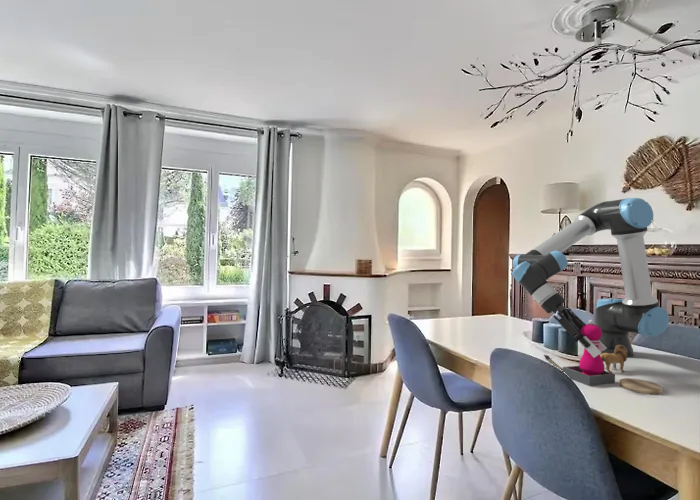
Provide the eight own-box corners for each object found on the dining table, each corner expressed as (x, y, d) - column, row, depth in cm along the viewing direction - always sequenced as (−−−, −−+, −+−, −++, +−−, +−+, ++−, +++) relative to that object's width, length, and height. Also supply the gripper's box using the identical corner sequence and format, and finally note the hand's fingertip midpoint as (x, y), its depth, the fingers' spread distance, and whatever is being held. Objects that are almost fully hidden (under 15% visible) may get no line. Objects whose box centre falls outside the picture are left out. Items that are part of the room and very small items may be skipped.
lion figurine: (615, 366, 147) (616, 342, 147) (631, 370, 142) (631, 346, 142) (591, 371, 140) (592, 346, 140) (606, 375, 135) (607, 349, 135)
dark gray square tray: (586, 373, 138) (586, 364, 138) (614, 383, 128) (615, 374, 128) (562, 375, 135) (562, 366, 135) (589, 386, 124) (589, 376, 124)
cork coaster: (636, 380, 131) (636, 377, 131) (671, 392, 120) (671, 388, 120) (611, 383, 127) (611, 379, 127) (645, 395, 117) (645, 391, 117)
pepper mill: (575, 379, 131) (574, 319, 131) (585, 374, 136) (584, 317, 136) (598, 384, 126) (598, 322, 126) (608, 380, 130) (608, 320, 130)
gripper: (549, 303, 149) (597, 353, 138) (530, 308, 134) (583, 365, 123) (565, 290, 145) (616, 341, 134) (547, 294, 130) (603, 351, 119)
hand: (600, 352), depth 129 cm, fingers open, 8 cm apart
